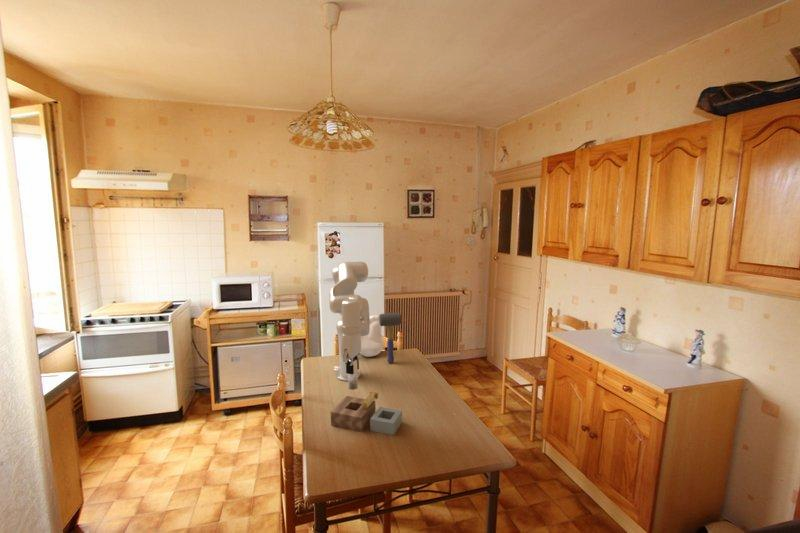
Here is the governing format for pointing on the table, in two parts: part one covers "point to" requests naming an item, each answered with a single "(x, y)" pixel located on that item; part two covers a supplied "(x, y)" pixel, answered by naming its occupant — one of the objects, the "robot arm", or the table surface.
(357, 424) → the socket block
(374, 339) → the decorative rooster
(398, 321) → the rubber mallet
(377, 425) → the grey square ring block
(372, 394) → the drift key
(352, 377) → the steel peg
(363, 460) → the table surface
